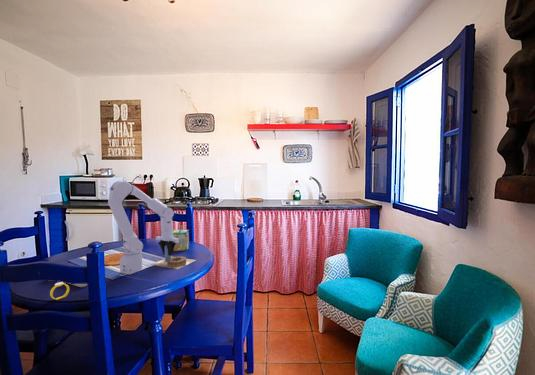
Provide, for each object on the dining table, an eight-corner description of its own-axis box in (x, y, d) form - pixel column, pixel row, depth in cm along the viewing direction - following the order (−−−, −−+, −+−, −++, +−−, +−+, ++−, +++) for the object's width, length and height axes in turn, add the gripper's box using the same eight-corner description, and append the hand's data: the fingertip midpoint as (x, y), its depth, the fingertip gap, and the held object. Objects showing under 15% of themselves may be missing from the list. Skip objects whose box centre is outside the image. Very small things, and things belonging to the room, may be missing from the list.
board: (177, 270, 131) (177, 269, 131) (150, 265, 138) (150, 264, 138) (196, 261, 143) (196, 260, 143) (171, 257, 151) (171, 256, 151)
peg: (168, 261, 142) (167, 246, 141) (163, 261, 143) (163, 246, 142) (172, 259, 144) (172, 245, 144) (168, 259, 146) (167, 244, 145)
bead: (177, 268, 132) (177, 263, 132) (163, 265, 136) (163, 260, 136) (189, 262, 140) (189, 257, 140) (176, 260, 144) (176, 255, 144)
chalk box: (174, 247, 170) (173, 224, 169) (189, 246, 171) (188, 223, 170) (171, 252, 161) (170, 227, 160) (186, 251, 162) (185, 226, 161)
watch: (53, 302, 101) (51, 287, 100) (50, 301, 102) (47, 286, 102) (71, 295, 106) (69, 280, 105) (67, 293, 108) (65, 279, 107)
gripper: (182, 228, 143) (183, 253, 144) (162, 227, 149) (163, 251, 150) (172, 231, 137) (174, 257, 138) (152, 229, 143) (153, 254, 144)
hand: (168, 254), depth 143 cm, fingers closed on peg, 3 cm apart
